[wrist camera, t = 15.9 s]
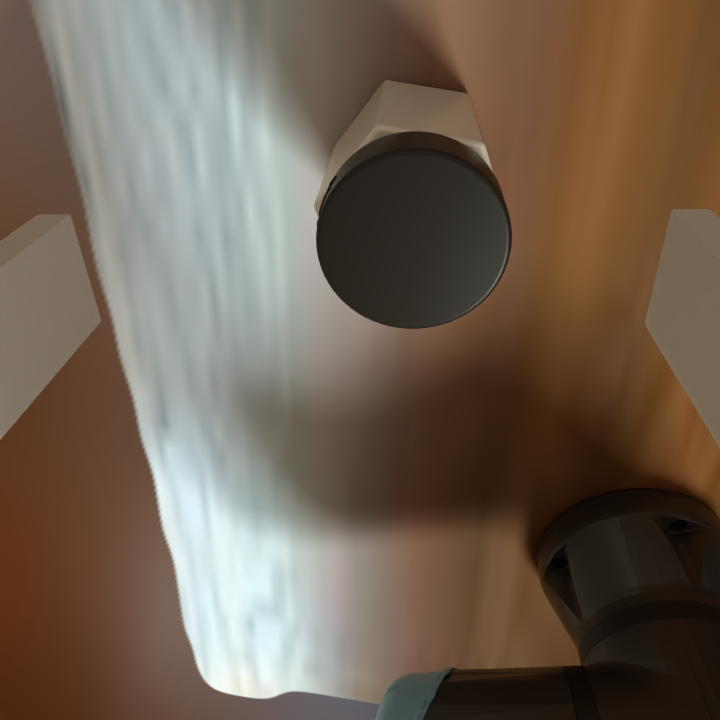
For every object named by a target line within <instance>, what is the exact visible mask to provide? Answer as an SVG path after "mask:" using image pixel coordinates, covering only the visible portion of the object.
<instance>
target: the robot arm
mask: <svg viewBox="0 0 720 720" xmlns="http://www.w3.org/2000/svg"><path fill="white" fill-rule="evenodd" d="M100 322H101V318H100V314H99V311H98V308H97V304H96V301H95V297H94V294H93V291H92V287H91V284H90V280H89V277H88V273H87V270H86V266H85V263H84V260H83V256H82V253H81V249H80V246H79V243H78V239H77V236H76V232H75V229H74V225H73V222H72V219H71V215H70V214H63V215H62V214H58V215H57V214H55V215H53V214H51V215H37V216H35V217H34V218H32V219H31V220H30V221H28V222H27V223H25V224H24V225H22V226H21V227H20V228H18V229H17V230H15V231H14V232H12V233H11V234H9V235H8V236H7V237H5V238H4V239H2V240H1V241H0V439H1V438H2V437H3V436H4V435H5V433H6V432H7V431H8V430H9V429H10V428H11V426H12V425H13V424H14V423H15V422H16V421H17V419H18V418H19V417H20V416H21V414H22V413H23V412H24V411H25V410H26V409H27V408H28V406H29V405H30V404H31V403H32V402H33V400H34V399H35V398H36V397H37V396H38V395H39V394H40V392H41V391H42V390H43V389H44V388H45V386H46V385H47V384H48V383H49V382H50V381H51V379H52V378H53V377H54V376H55V375H56V374H57V372H58V371H59V370H60V369H61V368H62V367H63V365H64V364H65V363H66V362H67V361H68V359H69V358H70V357H71V356H72V355H73V354H74V352H75V351H76V350H77V349H78V348H79V347H80V345H81V344H82V343H83V342H84V341H85V339H86V338H87V337H88V336H89V335H90V334H91V332H92V331H93V330H94V329H95V328H96V327H97V325H98V324H99V323H100ZM645 326H646V327H647V329H648V331H649V332H650V334H651V336H652V337H653V339H654V341H655V342H656V344H657V346H658V347H659V349H660V350H661V352H662V354H663V355H664V357H665V359H666V360H667V362H668V364H669V365H670V367H671V369H672V370H673V372H674V374H675V375H676V377H677V378H678V380H679V382H680V383H681V385H682V387H683V388H684V390H685V392H686V393H687V395H688V397H689V398H690V400H691V402H692V403H693V405H694V407H695V408H696V410H697V411H698V413H699V415H700V416H701V418H702V420H703V421H704V423H705V425H706V426H707V428H708V430H709V431H710V433H711V435H712V436H713V438H714V439H715V441H716V443H717V444H718V446H719V448H720V218H719V217H718V216H717V215H716V214H715V213H714V212H713V211H712V210H710V209H678V210H672V211H671V216H670V220H669V224H668V228H667V232H666V237H665V241H664V245H663V249H662V254H661V258H660V262H659V266H658V270H657V275H656V279H655V283H654V287H653V291H652V296H651V300H650V304H649V308H648V312H647V317H646V321H645ZM536 560H537V567H538V572H539V577H540V582H541V586H542V588H543V591H544V593H545V595H546V597H547V599H548V601H549V602H550V604H551V606H552V607H553V609H554V611H555V612H556V614H557V616H558V617H559V619H560V621H561V622H562V624H563V626H564V627H565V629H566V631H567V632H568V634H569V636H570V637H571V639H572V641H573V642H574V644H575V646H576V647H577V650H578V654H579V658H580V663H581V666H550V667H526V668H502V669H463V670H457V669H456V668H453V667H452V668H450V667H448V668H446V669H444V670H443V671H435V672H426V673H415V674H407V675H404V676H401V677H400V678H398V679H396V680H395V681H394V682H393V683H392V684H391V685H390V687H389V688H388V689H387V691H386V693H385V695H384V697H383V699H382V701H381V704H380V707H379V709H378V713H377V717H376V720H720V520H719V518H718V517H717V516H716V515H715V513H714V512H713V511H711V510H710V509H709V508H708V507H707V506H705V505H704V504H702V503H700V502H698V501H697V500H695V499H692V498H690V497H687V496H684V495H681V494H677V493H673V492H668V491H661V490H628V491H621V492H615V493H610V494H606V495H602V496H599V497H596V498H593V499H590V500H588V501H586V502H583V503H581V504H579V505H577V506H575V507H573V508H572V509H570V510H568V511H567V512H565V513H564V514H562V515H561V516H560V517H559V518H557V519H556V520H555V521H554V522H553V523H552V524H551V525H550V526H549V527H548V529H547V530H546V531H545V533H544V534H543V536H542V538H541V540H540V542H539V545H538V548H537V554H536Z"/></svg>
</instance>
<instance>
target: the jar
mask: <svg viewBox="0 0 720 720" xmlns="http://www.w3.org/2000/svg"><path fill="white" fill-rule="evenodd" d="M314 208H315V211H316V213H317V215H318V217H319V218H318V221H317V232H316V246H317V253H318V259H319V262H320V266H321V269H322V271H323V274H324V276H325V278H326V280H327V281H328V283H329V285H330V286H331V288H332V289H333V291H334V292H335V293H336V294H337V296H338V297H339V298H340V299H341V300H342V301H343V302H344V303H345V304H346V305H348V306H349V307H350V308H351V309H353V310H354V311H356V312H357V313H358V314H360V315H362V316H364V317H366V318H368V319H370V320H372V321H374V322H377V323H380V324H383V325H387V326H391V327H397V328H407V329H418V328H428V327H434V326H438V325H442V324H445V323H448V322H451V321H453V320H455V319H458V318H460V317H461V316H463V315H465V314H467V313H468V312H470V311H471V310H473V309H474V308H476V307H477V306H478V305H479V304H480V303H482V302H483V301H484V300H485V299H486V298H487V297H488V296H489V294H490V293H491V292H492V291H493V290H494V288H495V287H496V285H497V284H498V282H499V281H500V279H501V277H502V275H503V273H504V271H505V268H506V266H507V263H508V260H509V255H510V251H511V242H512V230H511V222H510V217H509V213H508V210H507V206H506V203H505V200H504V197H503V194H502V191H501V188H500V185H499V183H498V181H497V179H496V177H495V175H494V173H493V170H492V167H491V163H490V160H489V156H488V153H487V149H486V146H485V143H484V139H483V136H482V133H481V130H480V127H479V123H478V120H477V117H476V114H475V111H474V108H473V104H472V101H471V98H470V96H469V94H467V93H463V92H457V91H451V90H444V89H438V88H432V87H426V86H420V85H414V84H408V83H403V82H397V81H391V80H385V81H384V82H383V83H382V84H381V85H380V87H379V88H378V89H377V90H376V92H375V93H374V94H373V96H372V97H371V98H370V100H369V101H368V102H367V104H366V105H365V106H364V108H363V109H362V110H361V112H360V113H359V114H358V116H357V117H356V118H355V120H354V121H353V122H352V124H351V125H350V126H349V127H348V129H347V130H346V131H345V133H344V134H343V135H342V137H341V138H340V139H339V141H338V142H337V143H336V145H335V147H334V150H333V153H332V156H331V158H330V161H329V164H328V167H327V170H326V173H325V175H324V178H323V181H322V184H321V187H320V190H319V193H318V195H317V198H316V201H315V204H314Z"/></svg>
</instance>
